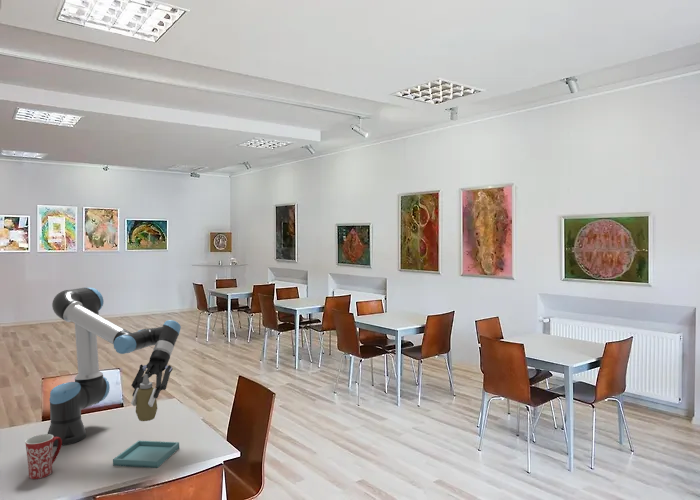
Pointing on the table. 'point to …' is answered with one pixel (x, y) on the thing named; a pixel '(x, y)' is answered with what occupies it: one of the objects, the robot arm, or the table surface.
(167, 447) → the tray
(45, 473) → the mug
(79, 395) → the robot arm
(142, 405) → the squeeze bottle
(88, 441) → the table surface
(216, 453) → the table surface
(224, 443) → the table surface
